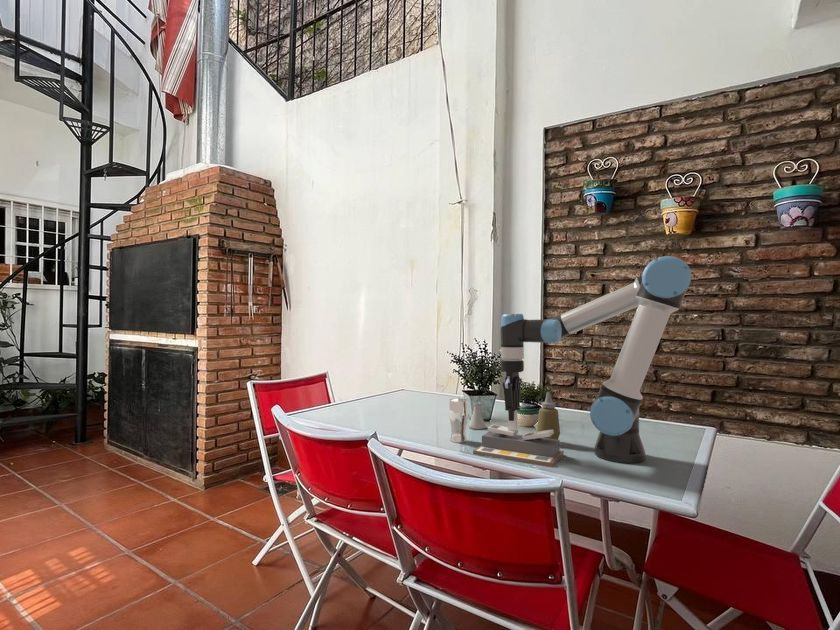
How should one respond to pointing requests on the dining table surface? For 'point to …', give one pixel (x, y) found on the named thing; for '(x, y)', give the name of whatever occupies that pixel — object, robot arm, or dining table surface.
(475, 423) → the flask
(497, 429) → the far switch
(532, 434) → the near switch
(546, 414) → the squeeze bottle
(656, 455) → the dining table surface
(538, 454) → the switch box
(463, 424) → the beer glass
